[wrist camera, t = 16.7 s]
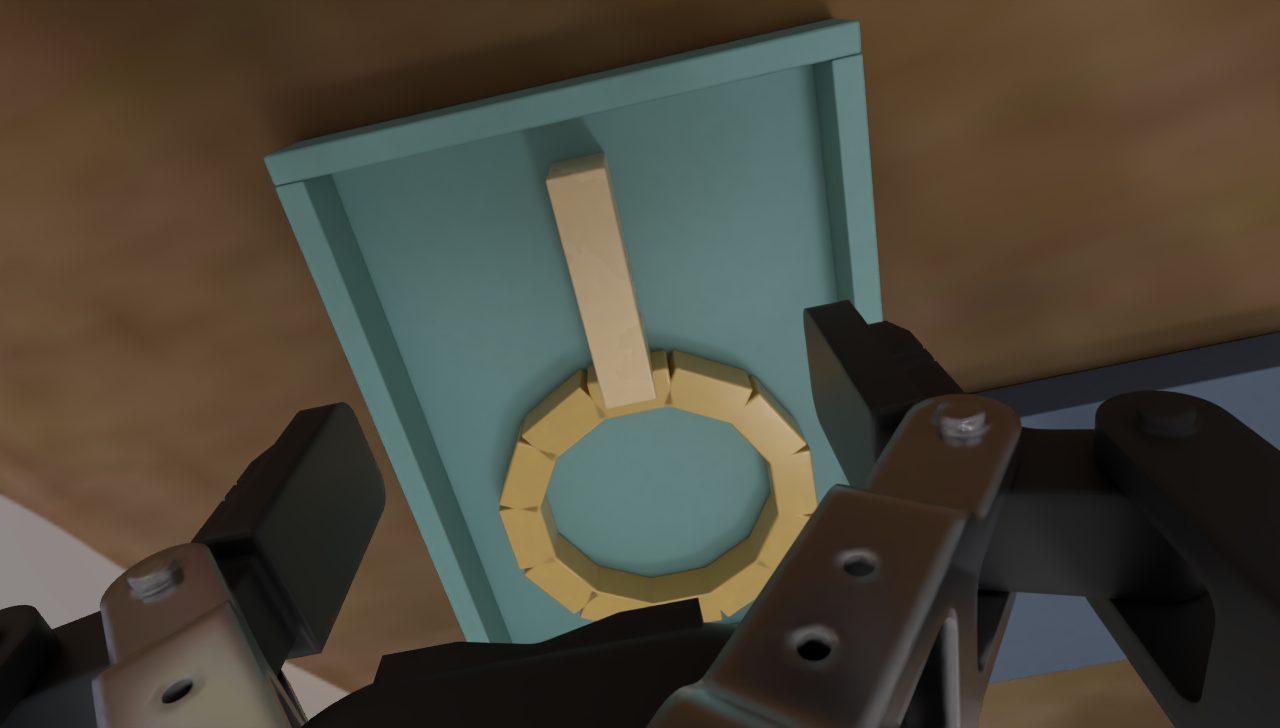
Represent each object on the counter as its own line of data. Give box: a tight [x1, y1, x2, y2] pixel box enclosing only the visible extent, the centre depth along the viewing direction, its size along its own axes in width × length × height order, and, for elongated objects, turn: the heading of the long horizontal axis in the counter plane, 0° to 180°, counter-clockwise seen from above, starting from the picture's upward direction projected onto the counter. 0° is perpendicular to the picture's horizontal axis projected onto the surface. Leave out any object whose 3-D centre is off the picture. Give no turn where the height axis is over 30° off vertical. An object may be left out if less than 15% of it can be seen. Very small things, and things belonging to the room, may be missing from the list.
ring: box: [499, 152, 818, 622], centre depth 24 cm, size 17×11×2 cm, turn 12°
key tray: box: [264, 18, 883, 644], centre depth 25 cm, size 22×16×2 cm
